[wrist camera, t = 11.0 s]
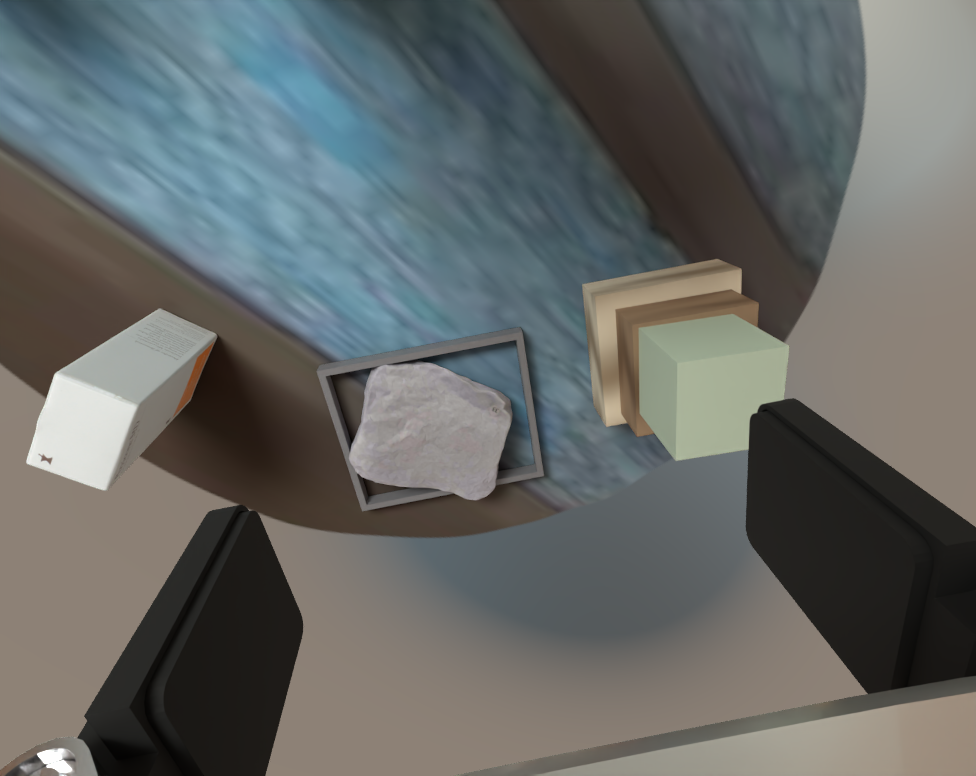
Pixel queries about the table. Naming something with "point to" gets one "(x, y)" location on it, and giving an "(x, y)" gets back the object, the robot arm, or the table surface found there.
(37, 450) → the skincare box
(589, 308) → the beech block
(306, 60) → the table surface
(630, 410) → the walnut block
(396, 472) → the stone block
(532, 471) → the tray rim
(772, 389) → the green cube
